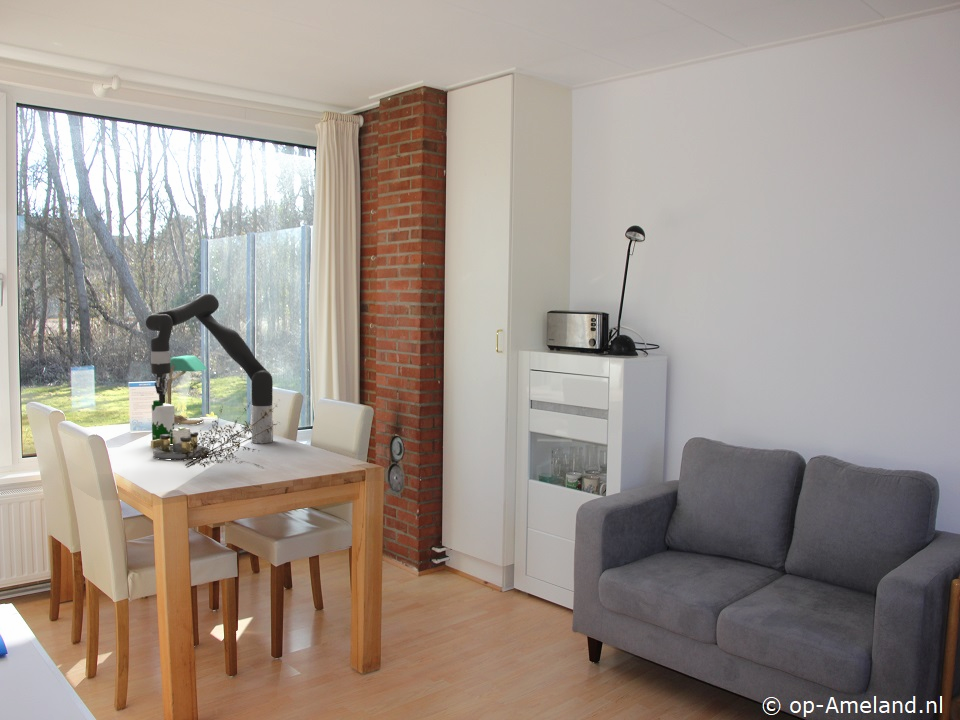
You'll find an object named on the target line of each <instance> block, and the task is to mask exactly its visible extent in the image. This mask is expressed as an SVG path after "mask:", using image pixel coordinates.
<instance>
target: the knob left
mask: <svg viewBox="0 0 960 720" xmlns="http://www.w3.org/2000/svg"><path fill="white" fill-rule="evenodd" d="M180 440H181V453H190V452H191V451H190V450H191V449H193V447H192V448H190V447H191V444H190V443H191V440H192V437H181V438H180ZM192 444H193V443H192ZM192 451H193V450H192Z"/></svg>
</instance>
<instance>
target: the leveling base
mask: <svg viewBox="0 0 960 720" xmlns="http://www.w3.org/2000/svg"><path fill="white" fill-rule="evenodd" d="M190 432H191V428H190V427H189V428H188V427H185V426H180V427H177V428H175V427H174V429H173V445H170V450H161V447H159V448H155V450H154V449H153V458H154V457H155V459H156V458H159V459H158V460H161V459H171V460H170V461H184V459H187V458H188V459H190V458H189V457H186V456H187V455H186V454H189V456H191V457H192V455H194V454H193V451H191V454H190V453H181V440H180V438H181V437H190ZM201 446H202V445H199V448H200V449H199V448H198V446H197V449H196V448H194V451H195V452H194V453H196V452H197V451H199V450H201V448H203V449H204V447H205V446H202V447H201ZM206 447H207V446H206ZM206 447H205V448H206ZM207 448H208V449H209V447H207ZM207 448H206V449H205V450H204V451H203V453H206V452H205V451H207V452H209V451H210V450H208V449H207ZM198 449H199V450H198ZM199 452H200V451H199ZM199 452H198V454H197V453H196V455H195V457H196V458H197V456H198V455H199V454H201V456H202V455H204V454H203V453H201V452H202V451H201V452H200V453H199ZM208 454H210V453H208ZM204 456H205V455H204ZM184 457H185V458H184ZM195 457H194V456H193V457H192V458H191V460H194V459H193V458H195ZM198 457H200V456H198ZM202 457H203V456H202ZM182 458H183V459H182Z"/></svg>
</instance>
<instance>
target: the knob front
mask: <svg viewBox="0 0 960 720" xmlns="http://www.w3.org/2000/svg"><path fill="white" fill-rule="evenodd" d="M160 438H161V439H157V440H150V449H153V450H154V449H159V448H161V450H170V446H171V445H170V438H171V434H162V435H160Z"/></svg>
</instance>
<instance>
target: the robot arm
mask: <svg viewBox="0 0 960 720" xmlns="http://www.w3.org/2000/svg"><path fill="white" fill-rule="evenodd" d="M219 305H220V303H219V300H218V299H217V297H216V296H215V295H214V294H212V293H208V292H207V293H203V294H202V295H200V296H198V297H197V298H196V299H194V300H192V301H190V302H187V303H185V304H182V305H180V306H177V307H174V308H171V309H168V310H166V311H159V312H154V313H152V314H149V315H148V316H147V318H146V319H145V326H146V328H147V329H148V330H149V331H152V332H159V333H158V335H157V336H154V337H152V338H151V339H150V351H151V352H150V353H151V354H150V369H151V370H150V371H151V374H153V375H156V378H155V382H154V386H155V387H154V388H155V391H156V394H157V395H158V400H159V403H160V404H162V403H163V404H166V403H167V402H166V401H167V400H166V395H167V387H168V380H169V378H168V377H167V374H168V375H169V373H170V372H171V363H170V360H171V354H170V339H171V335H172V331H173V327H174V326H178V325H180V324H183V323H185V322H187V321H189V320H191V319H192V318H194V317H196V320H198V321H199V322H200V323H201V324H202V325H203V326H204V327H205V328H206V329H207V330H208V331H209V333H211V335H212V336H213V337H214V338H215V339H216V341H217V342H218V343H219V344H220V346H221V347H222V348H223V350H224V351H225V352H226V353H227V355H228V356H229V357H231V359H232V360H233V361H234V362H236V364H238V365H239V366H240V367H241V368H242V369H243V370H244V372H245V373H246V375H247V376H248V378H249V379H250V380H251V425H252V426H253V424H254V423H256V422H257V421H258V422H257V423H256V424H255V425H254V426H253V427H252V426H251V427H252V428H251V429H253V430H251V431H252V433H251V437H252V438H255V437H256V439H252V438H251V443H252V444H253V443H254V444H267V443H268V444H271V443H272V442H273V441H274V425H273V424H274V420H273V412H269V409H271V410H272V411H273V391H274V389H273V383H274V382H273V376H272V374H271V373H270V371H268V370H267V369H266V368H265V367H264V366H263V365H262V364H261V363H260V362H259V361H258V359H257V358H256V357H255V355H254V354H253V352H252V351H251V349H250V347H249V346H248V345H247V343H246V341H244V339H243V338H242V336H241V335H240V334H239V333H238V332H237V331H236V330H234V329H232V328H230V327H228V326H225V325H223V324H221V323H219V322H218V320H216V319H215V318H214V316H213V315H212V314H214V313H215V312H216V311H217V310H218V308H219ZM269 407H270V408H269ZM268 408H269V409H268ZM262 410H263V411H262ZM265 411H266V412H267V414H268V415H269V417H268V416H267V415H266V416H265V418H264V419H263V418H262V417H263V416H264V415H265ZM263 412H264V413H263ZM268 412H269V413H268ZM261 413H262V416H261ZM261 418H262V419H261ZM260 419H261V420H260ZM259 420H260V421H259ZM263 420H264V421H263ZM272 423H273V424H272ZM267 425H268V427H267ZM269 426H270V427H272V430H271V428H270V427H269ZM260 427H262V428H260ZM269 428H270V429H269ZM266 429H269V430H268V431H269V433H268V431H267V430H266ZM265 430H266V431H265ZM263 431H264V432H263ZM261 432H262V433H261ZM259 433H260V434H259ZM257 434H258V435H257ZM267 434H268V435H267ZM255 435H256V436H255ZM253 436H254V437H253ZM252 440H254V441H252Z"/></svg>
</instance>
